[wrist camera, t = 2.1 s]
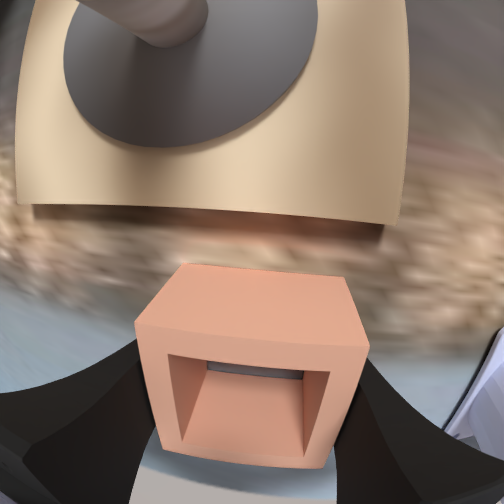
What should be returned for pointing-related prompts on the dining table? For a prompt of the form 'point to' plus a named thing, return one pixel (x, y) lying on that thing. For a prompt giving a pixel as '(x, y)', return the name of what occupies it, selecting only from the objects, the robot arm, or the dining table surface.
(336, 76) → the post block
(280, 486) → the dining table surface
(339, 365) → the salmon square tube
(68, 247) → the dining table surface
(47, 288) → the dining table surface
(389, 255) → the dining table surface
